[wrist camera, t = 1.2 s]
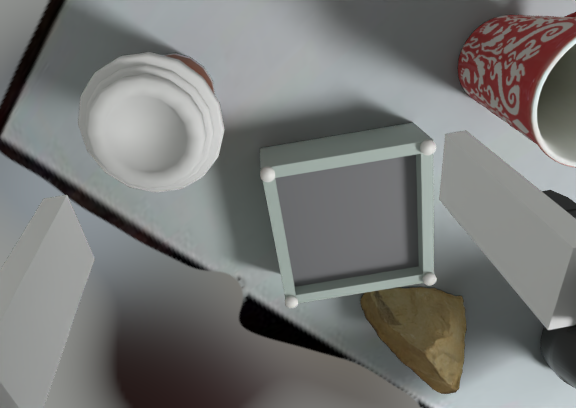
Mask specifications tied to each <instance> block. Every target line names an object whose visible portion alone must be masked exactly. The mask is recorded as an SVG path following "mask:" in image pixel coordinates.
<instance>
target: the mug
mask: <svg viewBox="0 0 576 408" xmlns="http://www.w3.org/2000/svg"><path fill="white" fill-rule="evenodd" d="M458 76H459V80H460V83H461V85H462V87H463V89H464V90H465V92H466V93H467V94H468V95H469V96H470V97H471V98H473V99H474V100H475V101H477V102H478V103H479V104H481V105H483V106H484V107H486V108H487V109H488V110H490V111H491V112H492V113H493V114H495V115H496V116H498V117H499V118H501V119H502V120H504V121H505V122H507V123H508V124H509V125H510V126H512V127H513V128H515V129H516V130H518V131H519V132H520V133H522V134H523V135H525V136H526V137H527V138H529V139H530V140H531V141H533V142H534V143H536V144H537V145H538V146H539V147H540V149H541V150H542V151H543V152H544V153H545V154H546V155H547V156H548V157H550V158H551V159H553V160H554V161H556V162H558V163H560V164H563V165H566V166H570V167H575V168H576V12H575V13H572V14H570V15H567V16H565V17H551V16H524V15H504V16H499V17H496V18H493V19H491V20H489V21H487V22H485V23H484V24H482V25H481V26H479V27H478V28H477V29H476V30H475V31H474V32H473V33H472V34H471V35H470V37H469V38H468V39H467V41H466V42H465V44H464V46H463V48H462V50H461V53H460V56H459V62H458Z"/></svg>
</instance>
